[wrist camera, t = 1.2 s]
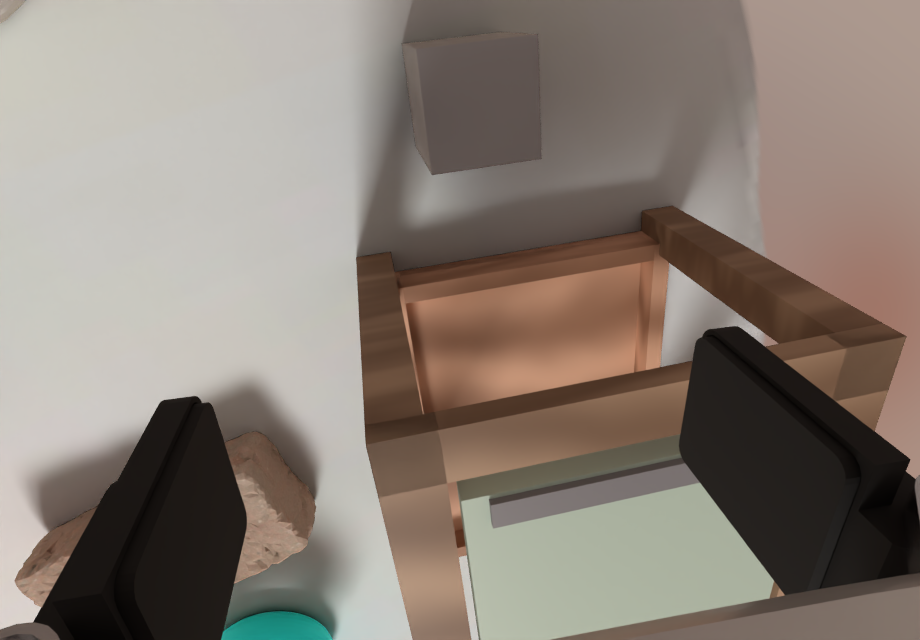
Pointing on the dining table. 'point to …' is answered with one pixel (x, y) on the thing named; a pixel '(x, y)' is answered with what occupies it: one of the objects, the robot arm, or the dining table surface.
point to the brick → (267, 507)
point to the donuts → (277, 628)
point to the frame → (561, 371)
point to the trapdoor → (600, 545)
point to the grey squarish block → (474, 100)
